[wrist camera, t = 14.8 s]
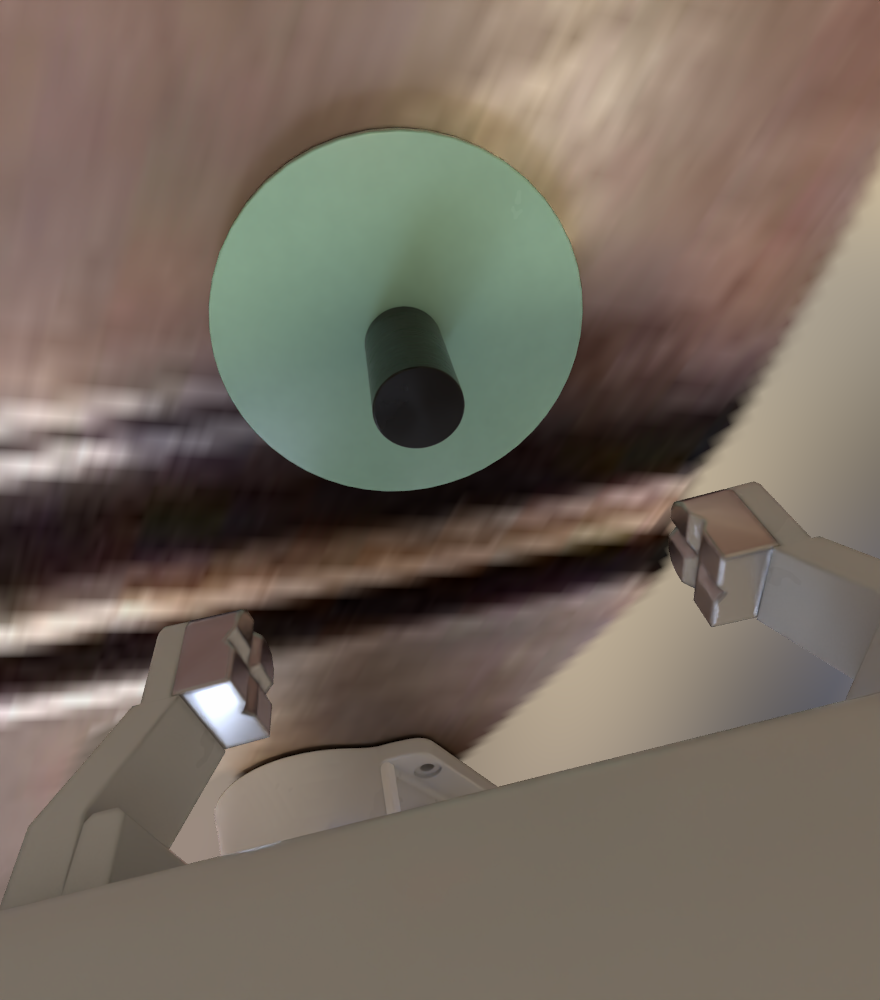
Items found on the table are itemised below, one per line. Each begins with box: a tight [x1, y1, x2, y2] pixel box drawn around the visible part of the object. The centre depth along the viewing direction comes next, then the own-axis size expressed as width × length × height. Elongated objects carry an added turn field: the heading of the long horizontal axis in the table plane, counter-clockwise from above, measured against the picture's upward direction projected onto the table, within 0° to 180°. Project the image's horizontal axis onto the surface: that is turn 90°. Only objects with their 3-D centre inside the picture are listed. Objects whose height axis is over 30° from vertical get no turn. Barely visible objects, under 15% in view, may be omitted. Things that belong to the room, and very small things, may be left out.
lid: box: [209, 128, 583, 491], centre depth 19 cm, size 12×12×6 cm
